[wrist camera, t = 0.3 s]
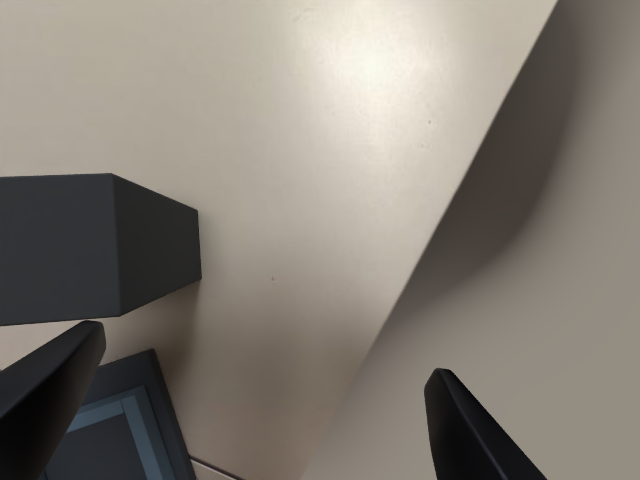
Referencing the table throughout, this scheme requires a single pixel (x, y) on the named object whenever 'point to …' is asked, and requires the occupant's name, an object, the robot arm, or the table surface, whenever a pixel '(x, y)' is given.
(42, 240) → the dark grey square block
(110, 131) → the table surface
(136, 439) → the base pad
